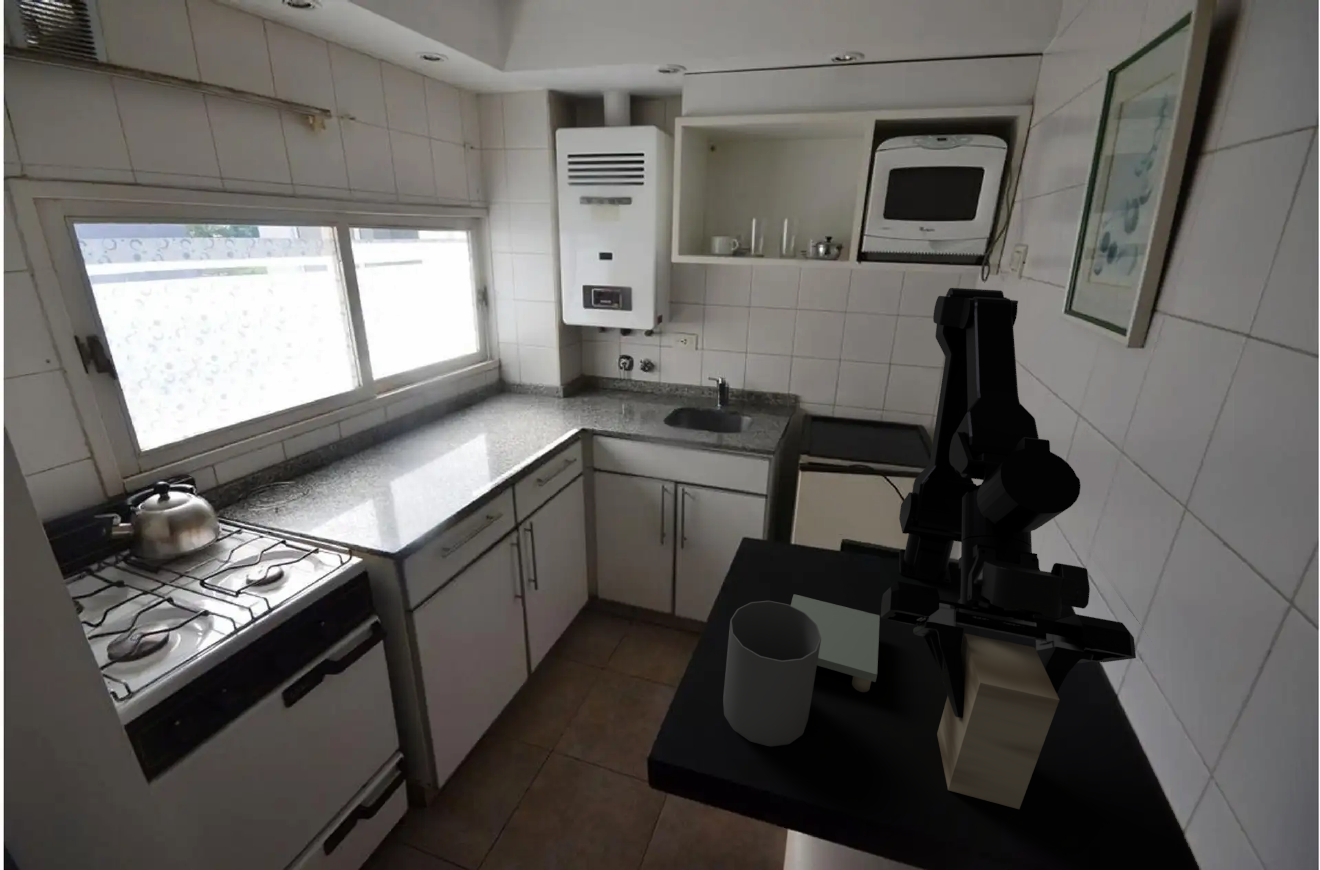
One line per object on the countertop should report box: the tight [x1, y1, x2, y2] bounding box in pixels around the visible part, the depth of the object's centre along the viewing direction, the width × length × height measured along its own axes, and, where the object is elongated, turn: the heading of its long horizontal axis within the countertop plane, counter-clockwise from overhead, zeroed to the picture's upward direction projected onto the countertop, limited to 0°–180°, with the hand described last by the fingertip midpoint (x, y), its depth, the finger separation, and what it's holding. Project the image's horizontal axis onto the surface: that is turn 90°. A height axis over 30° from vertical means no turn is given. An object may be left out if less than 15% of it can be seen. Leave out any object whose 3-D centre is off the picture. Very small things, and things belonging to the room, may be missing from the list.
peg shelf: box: [790, 593, 881, 693], centre depth 63 cm, size 10×10×3 cm
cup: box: [722, 600, 821, 747], centre depth 54 cm, size 8×8×10 cm
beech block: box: [936, 633, 1060, 810], centre depth 48 cm, size 6×6×12 cm
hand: (997, 726), depth 47 cm, fingers closed on beech block, 5 cm apart
